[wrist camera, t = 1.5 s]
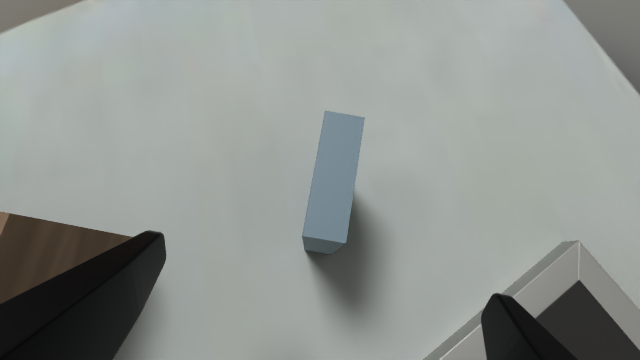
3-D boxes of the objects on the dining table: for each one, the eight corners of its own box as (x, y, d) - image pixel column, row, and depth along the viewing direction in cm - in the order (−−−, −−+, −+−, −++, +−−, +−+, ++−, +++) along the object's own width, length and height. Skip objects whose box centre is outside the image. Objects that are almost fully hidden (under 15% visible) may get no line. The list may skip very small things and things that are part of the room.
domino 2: (342, 177, 22) (364, 117, 14) (330, 254, 21) (345, 243, 12) (318, 173, 22) (325, 110, 14) (304, 250, 21) (302, 235, 12)
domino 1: (133, 237, 21) (9, 213, 12) (106, 324, 20) (-54, 366, 11) (107, 232, 21) (-34, 205, 12) (79, 319, 20) (-102, 358, 11)
